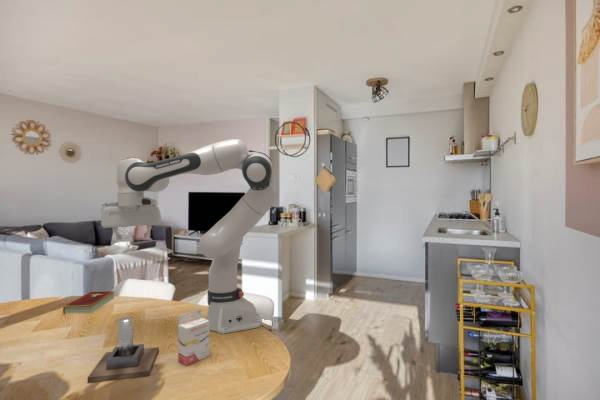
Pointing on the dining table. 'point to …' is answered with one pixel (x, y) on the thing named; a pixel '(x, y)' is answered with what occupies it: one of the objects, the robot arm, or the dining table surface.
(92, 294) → the hardcover book
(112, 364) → the socket collar
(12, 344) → the dining table surface
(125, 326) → the steel pin
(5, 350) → the dining table surface
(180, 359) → the ink cartridge box
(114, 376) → the socket board
